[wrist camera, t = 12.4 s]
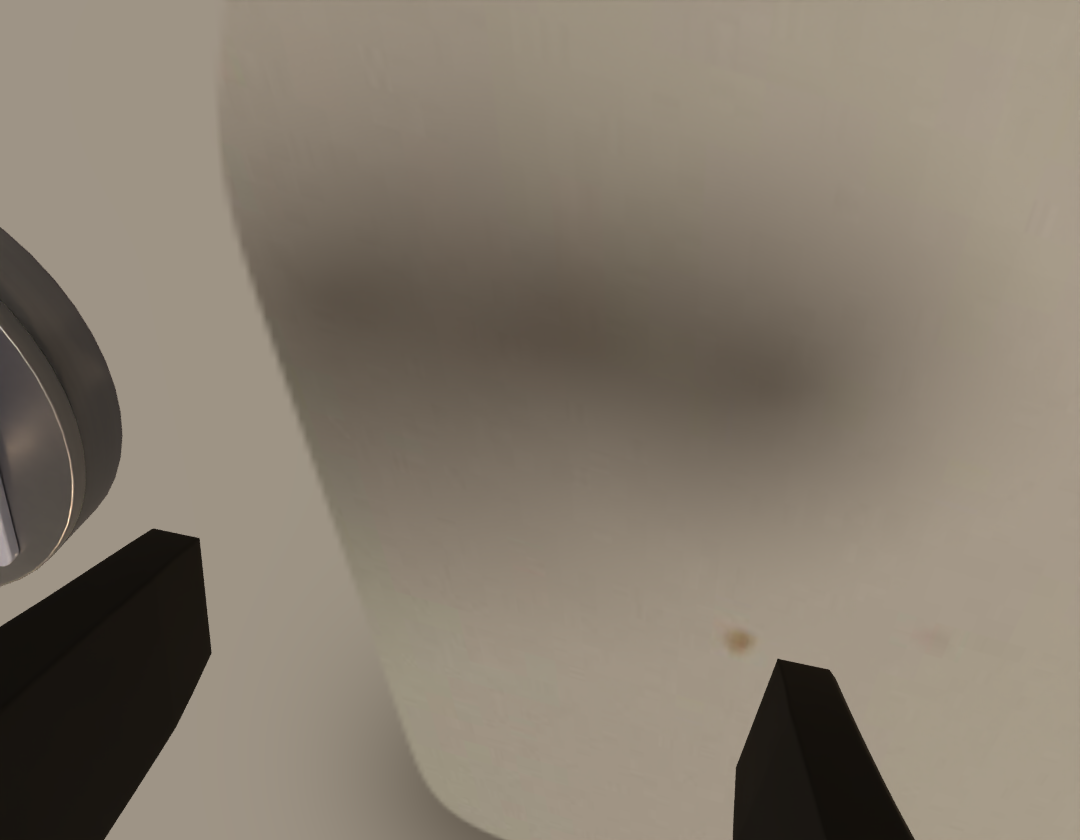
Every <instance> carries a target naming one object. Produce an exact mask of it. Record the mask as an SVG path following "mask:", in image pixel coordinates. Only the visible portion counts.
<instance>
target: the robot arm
mask: <svg viewBox="0 0 1080 840" xmlns="http://www.w3.org/2000/svg"><path fill="white" fill-rule="evenodd" d="M18 554H19V548H18V544H17V540H16V536H15V532H14V528H13V524H12V520H11V516H10V512H9V508H8V504H7V500H6V496H5V492H4V488H3V484H2V480H1V476H0V566H7V565H9V564H10V563H11V562H12V561H13V560H14V559H15V558H16V557H17V556H18ZM210 655H211V644H210V635H209V625H208V615H207V606H206V596H205V587H204V578H203V568H202V559H201V549H200V539H199V538H196V537H191V536H186V535H181V534H177V533H172V532H167V531H162V530H158V529H152V530H150V531H148V532H147V533H145V534H144V535H142V536H140V537H139V538H137V539H136V540H134V541H133V542H131V543H129V544H128V545H126V546H125V547H123V548H122V549H120V550H119V551H117V552H116V553H114V554H113V555H111V556H109V557H108V558H106V559H105V560H103V561H102V562H100V563H99V564H97V565H96V566H94V567H93V568H91V569H89V570H88V571H86V572H85V573H83V574H82V575H80V576H79V577H77V578H76V579H74V580H73V581H71V582H70V583H68V584H67V585H65V586H63V587H62V588H60V589H59V590H57V591H56V592H54V593H53V594H51V595H50V596H48V597H47V598H45V599H43V600H42V601H40V602H39V603H37V604H36V605H34V606H32V607H31V608H29V609H28V610H26V611H24V612H23V613H21V614H20V615H18V616H16V617H15V618H13V619H12V620H10V621H8V622H7V623H5V624H4V625H2V626H1V627H0V840H104V839H105V837H106V836H107V834H108V833H109V831H110V830H111V828H112V827H113V825H114V823H115V822H116V820H117V819H118V817H119V816H120V814H121V813H122V811H123V810H124V808H125V806H126V805H127V803H128V802H129V800H130V799H131V797H132V796H133V794H134V793H135V791H136V789H137V788H138V786H139V785H140V783H141V782H142V780H143V778H144V777H145V775H146V774H147V772H148V771H149V769H150V767H151V766H152V764H153V763H154V761H155V759H156V758H157V756H158V755H159V753H160V752H161V750H162V749H163V747H164V745H165V744H166V742H167V741H168V739H169V737H170V736H171V734H172V733H173V731H174V729H175V728H176V726H177V724H178V722H179V720H180V718H181V716H182V714H183V712H184V710H185V708H186V706H187V704H188V702H189V700H190V698H191V696H192V694H193V691H194V689H195V687H196V685H197V683H198V681H199V679H200V677H201V674H202V672H203V670H204V668H205V666H206V664H207V661H208V659H209V657H210ZM733 840H915V839H914V837H913V836H912V834H911V832H910V830H909V828H908V826H907V825H906V823H905V821H904V819H903V817H902V815H901V813H900V812H899V810H898V808H897V806H896V804H895V802H894V800H893V798H892V796H891V794H890V792H889V790H888V788H887V786H886V785H885V783H884V781H883V779H882V777H881V775H880V772H879V770H878V768H877V766H876V764H875V762H874V760H873V758H872V756H871V754H870V752H869V750H868V748H867V746H866V744H865V742H864V740H863V738H862V735H861V733H860V731H859V729H858V727H857V725H856V723H855V721H854V718H853V716H852V714H851V712H850V710H849V708H848V705H847V703H846V701H845V699H844V697H843V694H842V692H841V690H840V688H839V685H838V683H837V681H836V679H835V677H834V676H833V674H832V673H831V671H830V670H828V669H823V668H819V667H814V666H809V665H804V664H799V663H795V662H790V661H785V660H780V659H778V660H777V662H776V665H775V667H774V670H773V673H772V675H771V678H770V680H769V683H768V686H767V688H766V691H765V693H764V696H763V699H762V701H761V704H760V707H759V709H758V712H757V714H756V717H755V720H754V722H753V725H752V727H751V730H750V733H749V735H748V738H747V740H746V743H745V746H744V748H743V751H742V753H741V756H740V759H739V761H738V764H737V766H736V780H735V800H734V822H733Z"/></svg>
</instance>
